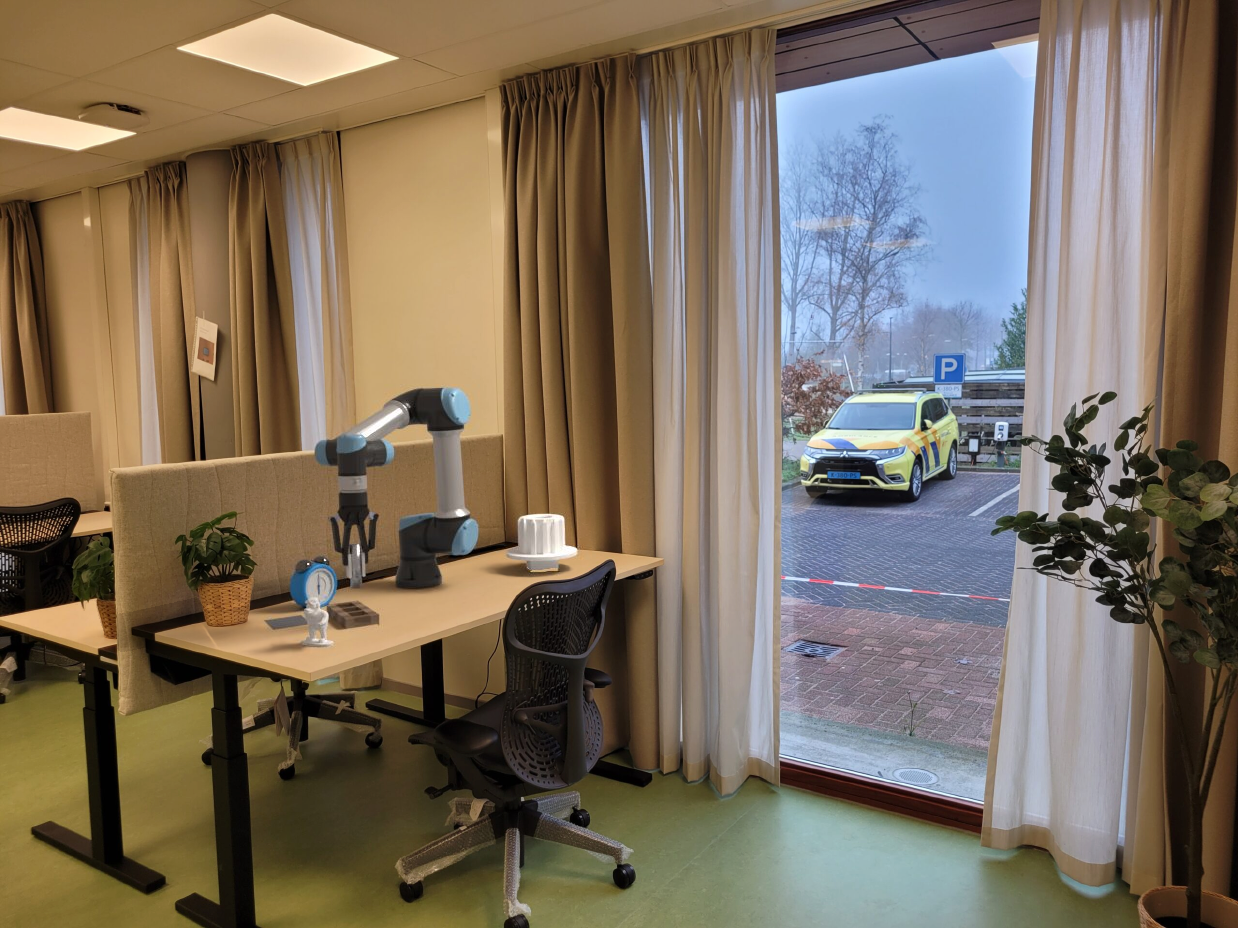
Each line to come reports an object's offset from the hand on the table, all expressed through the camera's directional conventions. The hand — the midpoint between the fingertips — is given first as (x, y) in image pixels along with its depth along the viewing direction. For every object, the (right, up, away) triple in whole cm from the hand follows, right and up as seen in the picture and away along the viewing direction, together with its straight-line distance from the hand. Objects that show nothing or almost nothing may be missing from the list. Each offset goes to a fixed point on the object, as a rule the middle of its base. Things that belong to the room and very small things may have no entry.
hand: (355, 576), depth 248 cm
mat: (-20, -14, +4) cm, 25 cm away
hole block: (-3, -13, +7) cm, 15 cm away
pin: (0, -3, 0) cm, 3 cm away
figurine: (-5, -15, -17) cm, 24 cm away
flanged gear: (+45, -7, +73) cm, 86 cm away
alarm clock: (-19, -12, +22) cm, 32 cm away
